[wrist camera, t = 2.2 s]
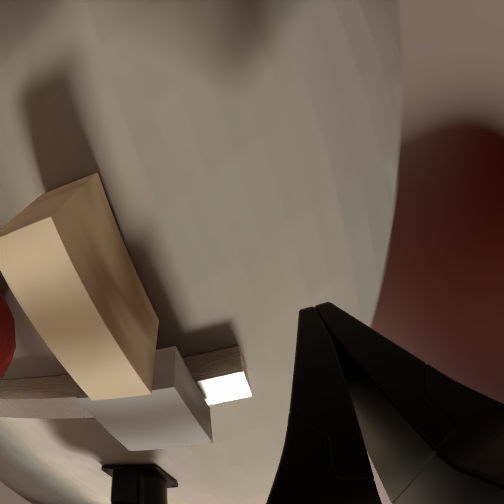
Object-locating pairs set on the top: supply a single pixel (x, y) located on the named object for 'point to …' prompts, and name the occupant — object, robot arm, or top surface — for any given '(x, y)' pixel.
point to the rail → (67, 406)
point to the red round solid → (6, 336)
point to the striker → (100, 319)
